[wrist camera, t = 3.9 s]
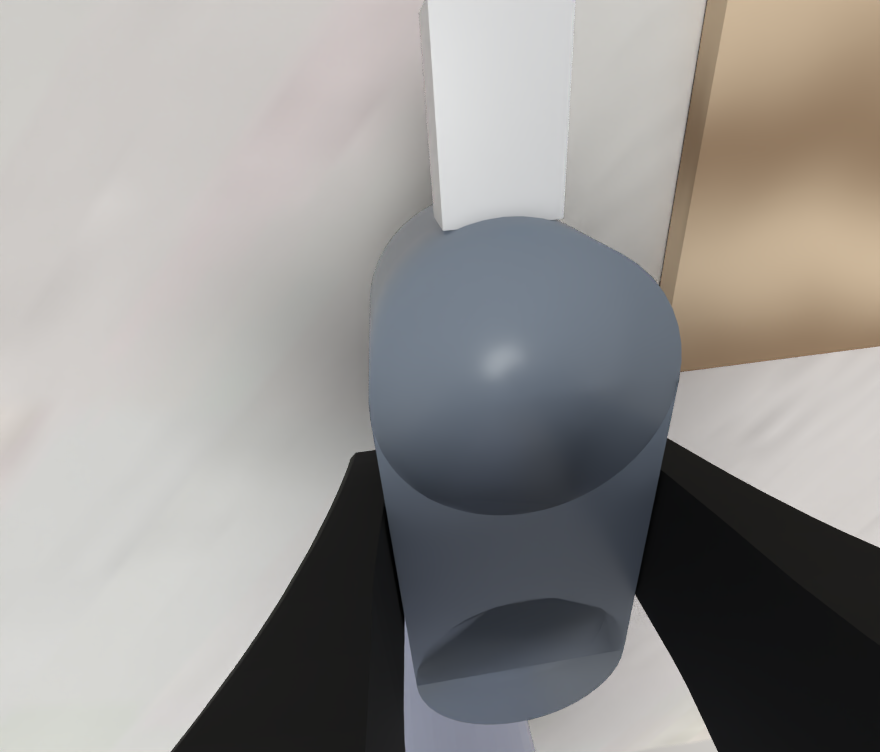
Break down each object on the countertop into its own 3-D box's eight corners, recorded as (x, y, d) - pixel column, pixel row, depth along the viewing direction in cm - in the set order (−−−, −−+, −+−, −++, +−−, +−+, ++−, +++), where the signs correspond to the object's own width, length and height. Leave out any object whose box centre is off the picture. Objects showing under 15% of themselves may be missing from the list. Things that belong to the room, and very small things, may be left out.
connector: (555, 567, 13) (612, 705, 10) (413, 590, 13) (425, 739, 10) (597, 18, 7) (769, -61, 4) (328, 36, 7) (290, -34, 4)
